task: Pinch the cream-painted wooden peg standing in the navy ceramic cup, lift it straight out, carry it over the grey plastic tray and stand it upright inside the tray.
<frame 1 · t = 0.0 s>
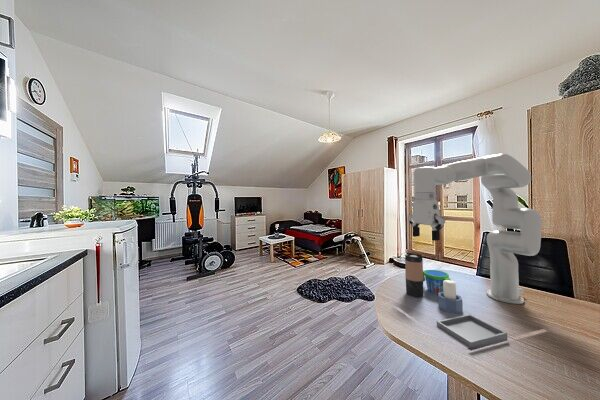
hand: (425, 238, 87), 31 cm above the table, tool pointing down, fingers open, 9 cm apart
cup: (450, 310, 89), on the table
snack cup: (436, 293, 105), on the table
tray: (470, 333, 73), on the table
travel mug: (414, 296, 102), on the table
peg: (450, 307, 89), point 1 cm above the table, touching cup
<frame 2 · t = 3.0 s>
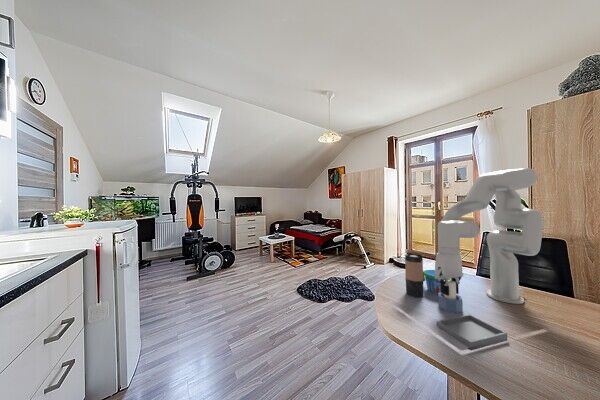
hand: (449, 292, 89), 7 cm above the table, tool pointing down, fingers closed on peg, 4 cm apart
peg: (450, 307, 89), point 1 cm above the table, touching cup, gripper
everything else where it was.
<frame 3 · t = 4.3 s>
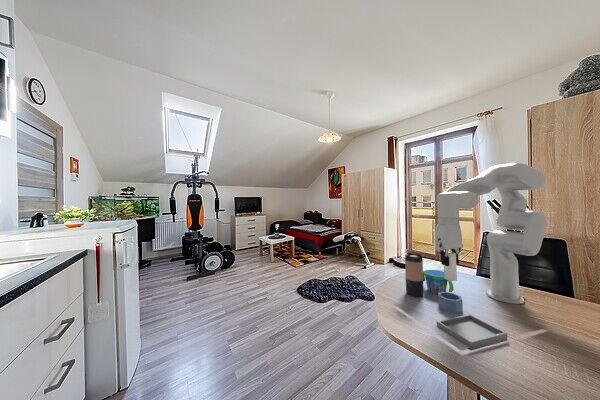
hand: (449, 263, 89), 20 cm above the table, tool pointing down, fingers closed on peg, 4 cm apart
peg: (450, 278, 89), point 13 cm above the table, touching gripper
everything else where it was.
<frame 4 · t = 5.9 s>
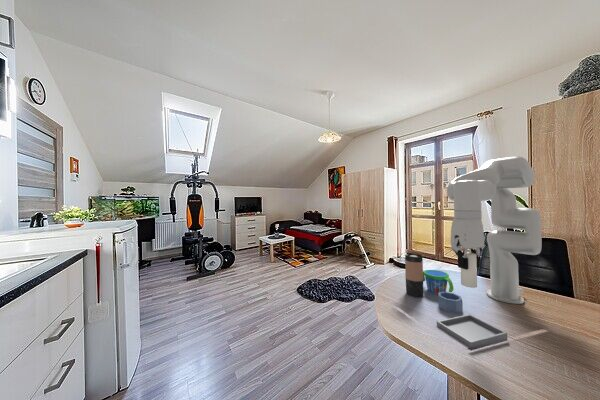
hand: (468, 267, 73), 23 cm above the table, tool pointing down, fingers closed on peg, 4 cm apart
peg: (468, 285, 73), point 17 cm above the table, touching gripper
everything else where it was.
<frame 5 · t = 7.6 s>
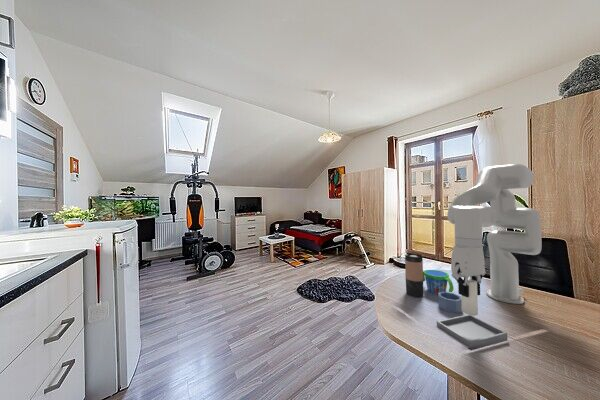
hand: (469, 294, 73), 14 cm above the table, tool pointing down, fingers closed on peg, 4 cm apart
peg: (469, 312, 73), point 8 cm above the table, touching gripper
everything else where it was.
when the fingers open (9 cm above the table, at t = 9.0 s): peg drops 1 cm, resting on tray.
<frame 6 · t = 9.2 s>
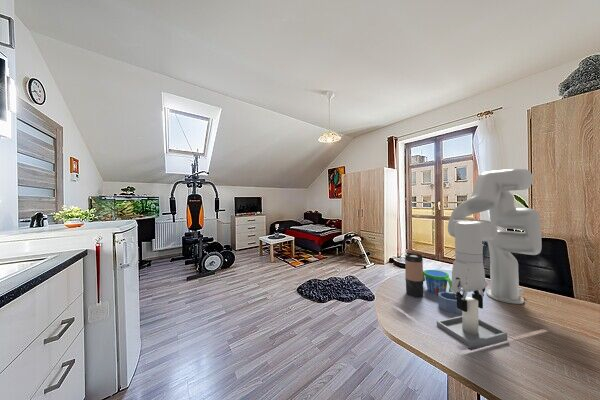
hand: (469, 307, 73), 9 cm above the table, tool pointing down, fingers open, 6 cm apart
peg: (470, 330, 73), point 1 cm above the table, touching tray
everything else where it was.
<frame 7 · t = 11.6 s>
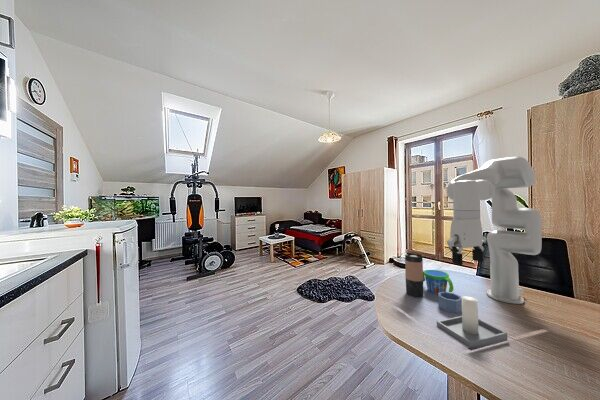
hand: (467, 262, 75), 24 cm above the table, tool pointing down, fingers open, 9 cm apart
nothing on the table moved.
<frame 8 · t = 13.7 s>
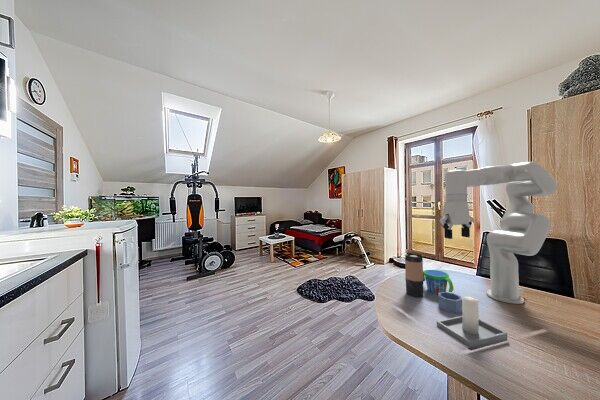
hand: (457, 237, 91), 30 cm above the table, tool pointing down, fingers open, 9 cm apart
nothing on the table moved.
at the end: peg inside the target area on the tray (0.1 cm from its centre), point 1.0 cm above the tray's base; peg tilted 1°; the gripper is holding nothing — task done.
